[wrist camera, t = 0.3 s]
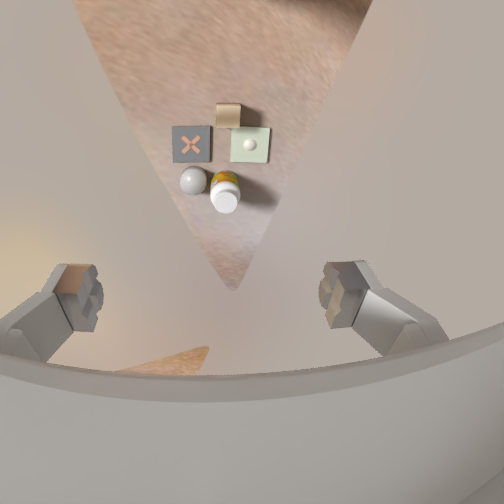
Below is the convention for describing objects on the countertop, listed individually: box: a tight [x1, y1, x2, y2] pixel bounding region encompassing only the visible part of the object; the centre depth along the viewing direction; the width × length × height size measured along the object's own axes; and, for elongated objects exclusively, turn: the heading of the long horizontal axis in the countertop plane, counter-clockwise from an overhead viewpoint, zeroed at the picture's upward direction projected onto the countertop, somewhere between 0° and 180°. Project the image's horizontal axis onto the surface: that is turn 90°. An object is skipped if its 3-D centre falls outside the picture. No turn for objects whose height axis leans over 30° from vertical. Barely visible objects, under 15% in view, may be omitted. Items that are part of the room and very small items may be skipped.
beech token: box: [216, 103, 241, 128], centre depth 46 cm, size 4×4×5 cm
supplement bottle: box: [210, 170, 240, 213], centre depth 52 cm, size 5×5×10 cm
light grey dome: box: [180, 166, 207, 195], centre depth 54 cm, size 5×5×3 cm
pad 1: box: [172, 126, 210, 163], centre depth 50 cm, size 7×7×1 cm
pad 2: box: [230, 126, 270, 163], centre depth 52 cm, size 7×7×1 cm
